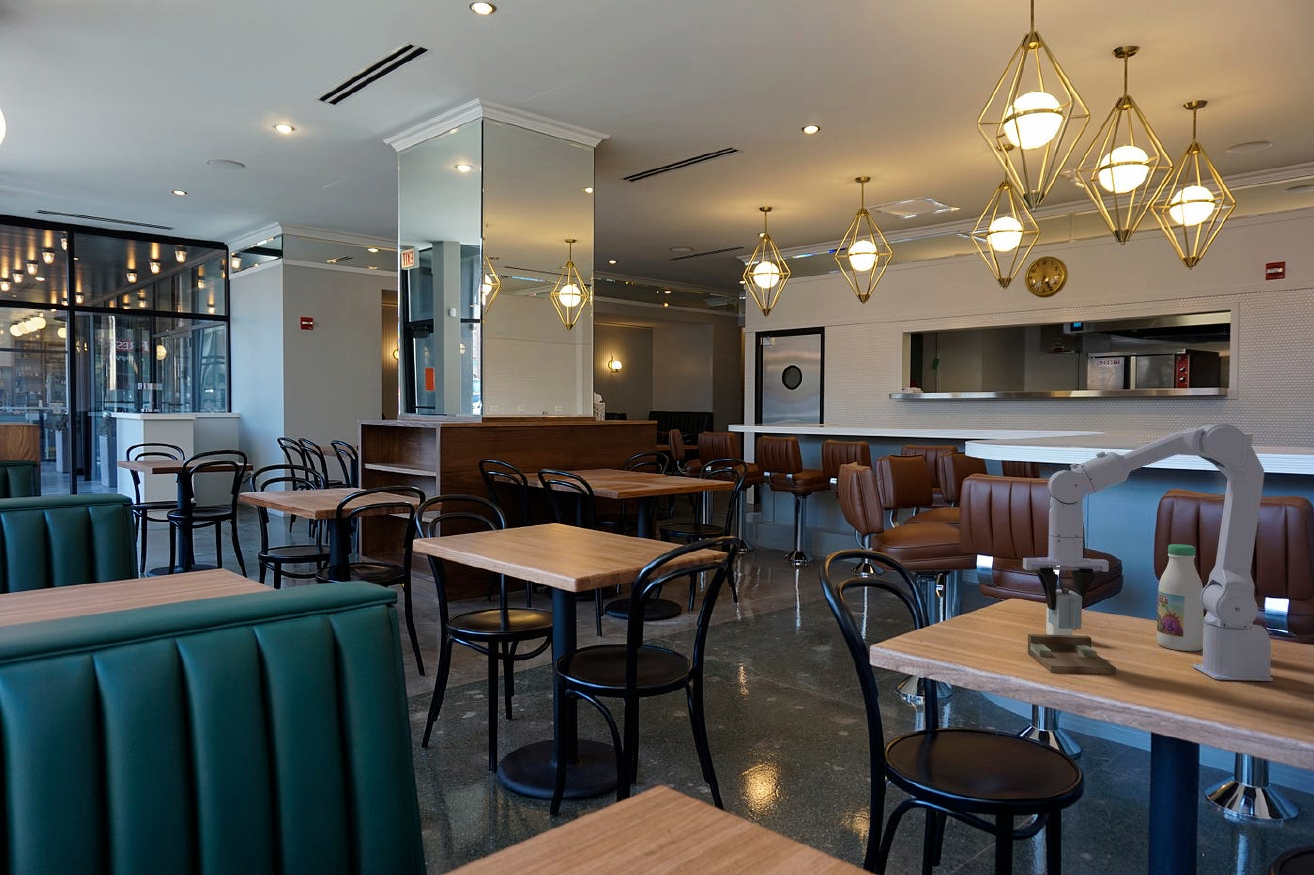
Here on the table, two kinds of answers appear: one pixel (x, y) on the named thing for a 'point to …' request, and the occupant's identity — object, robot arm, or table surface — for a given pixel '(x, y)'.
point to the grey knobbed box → (1066, 610)
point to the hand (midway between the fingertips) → (1064, 609)
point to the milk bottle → (1180, 602)
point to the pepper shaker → (1055, 628)
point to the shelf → (1067, 654)
